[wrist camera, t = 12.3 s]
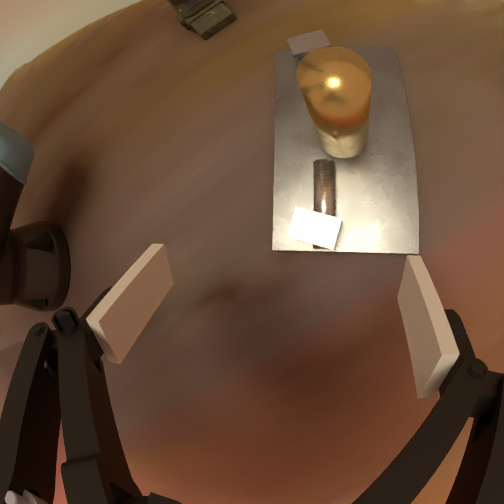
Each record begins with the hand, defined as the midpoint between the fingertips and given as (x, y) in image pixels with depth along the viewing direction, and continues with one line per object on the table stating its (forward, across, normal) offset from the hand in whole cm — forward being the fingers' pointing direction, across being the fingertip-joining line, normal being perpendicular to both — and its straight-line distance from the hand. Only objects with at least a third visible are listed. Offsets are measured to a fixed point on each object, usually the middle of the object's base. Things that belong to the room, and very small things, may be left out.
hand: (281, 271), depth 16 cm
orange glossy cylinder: (+17, +4, +4) cm, 18 cm away
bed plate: (+18, +4, +4) cm, 19 cm away
